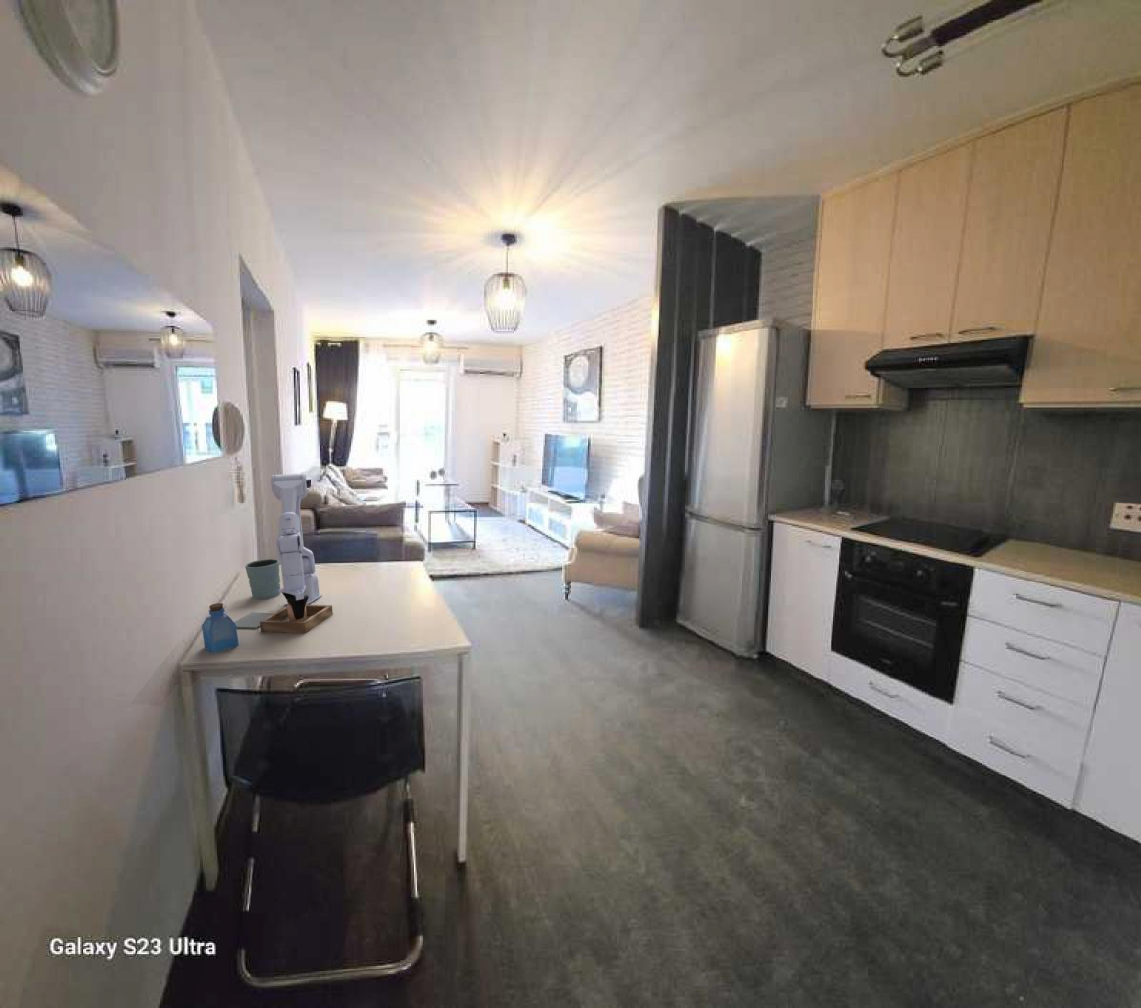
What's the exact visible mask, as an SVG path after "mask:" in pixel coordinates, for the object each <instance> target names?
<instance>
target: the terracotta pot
mask: <svg viewBox="0 0 1141 1008" xmlns="http://www.w3.org/2000/svg"><path fill="white" fill-rule="evenodd" d="M286 607H287V610H288V617H287V619H288V621H297V622H304V621H305V620H307V619H308V615H307V612H306V606H305V612H304V618H301V619H297V620H296V619H295V617H294V613H293V610H292V607H291V605H290V603H288V604H287V605H286Z"/></svg>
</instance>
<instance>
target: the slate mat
mask: <svg viewBox="0 0 1141 1008" xmlns="http://www.w3.org/2000/svg"><path fill="white" fill-rule="evenodd" d="M274 613H275V612H256V611H255V612H250V613H249V614H246V615H244V616H242V617H240V618H239V619H237V620H235V621H233V622H234V623H235V624H236V629H242V630H243V629H246V630H247V629H248V630H250V629H251V630H257V629H259V628H261V627H260V621H262V620H264V619H266V618H267V617H269V616H271V615H273V614H274Z"/></svg>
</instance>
